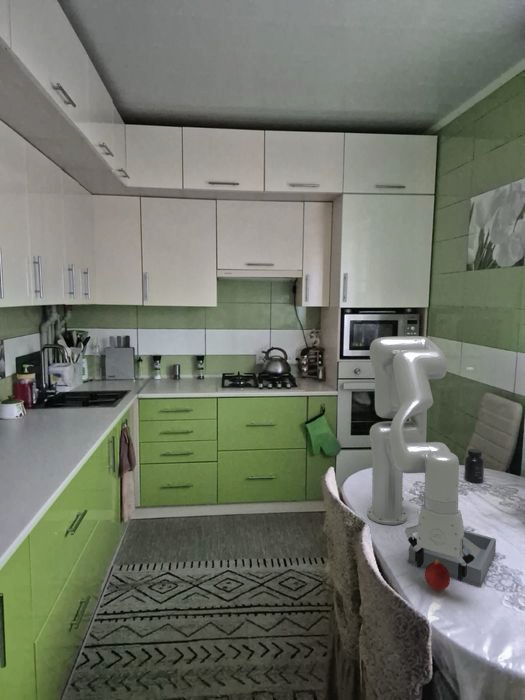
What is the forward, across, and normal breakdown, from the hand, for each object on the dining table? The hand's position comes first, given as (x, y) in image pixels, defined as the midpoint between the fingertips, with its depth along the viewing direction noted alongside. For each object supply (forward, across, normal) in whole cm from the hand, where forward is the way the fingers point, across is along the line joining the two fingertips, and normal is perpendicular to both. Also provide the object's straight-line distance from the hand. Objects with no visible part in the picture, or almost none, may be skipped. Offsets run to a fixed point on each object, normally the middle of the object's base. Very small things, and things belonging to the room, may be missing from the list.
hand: (440, 571), depth 111 cm
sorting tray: (+5, -1, +16) cm, 17 cm away
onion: (+5, -1, 0) cm, 5 cm away
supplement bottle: (+4, -9, +76) cm, 77 cm away
